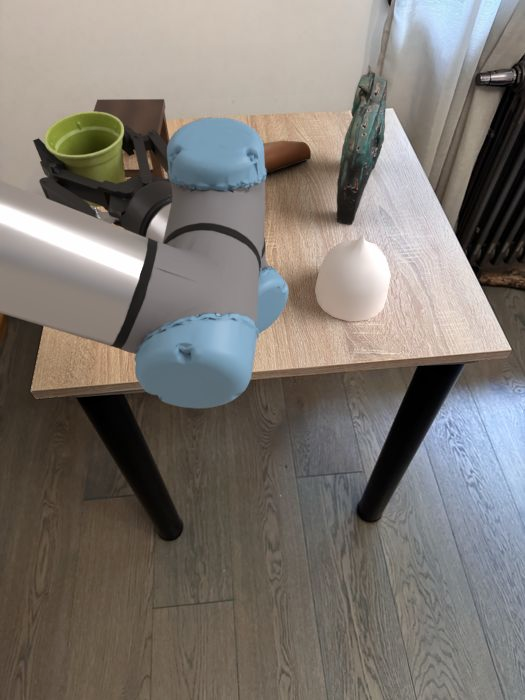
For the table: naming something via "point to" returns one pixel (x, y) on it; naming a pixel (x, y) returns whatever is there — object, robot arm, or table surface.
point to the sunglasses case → (284, 154)
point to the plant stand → (139, 122)
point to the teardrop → (353, 281)
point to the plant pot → (89, 146)
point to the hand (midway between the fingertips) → (72, 135)
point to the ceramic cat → (361, 144)
